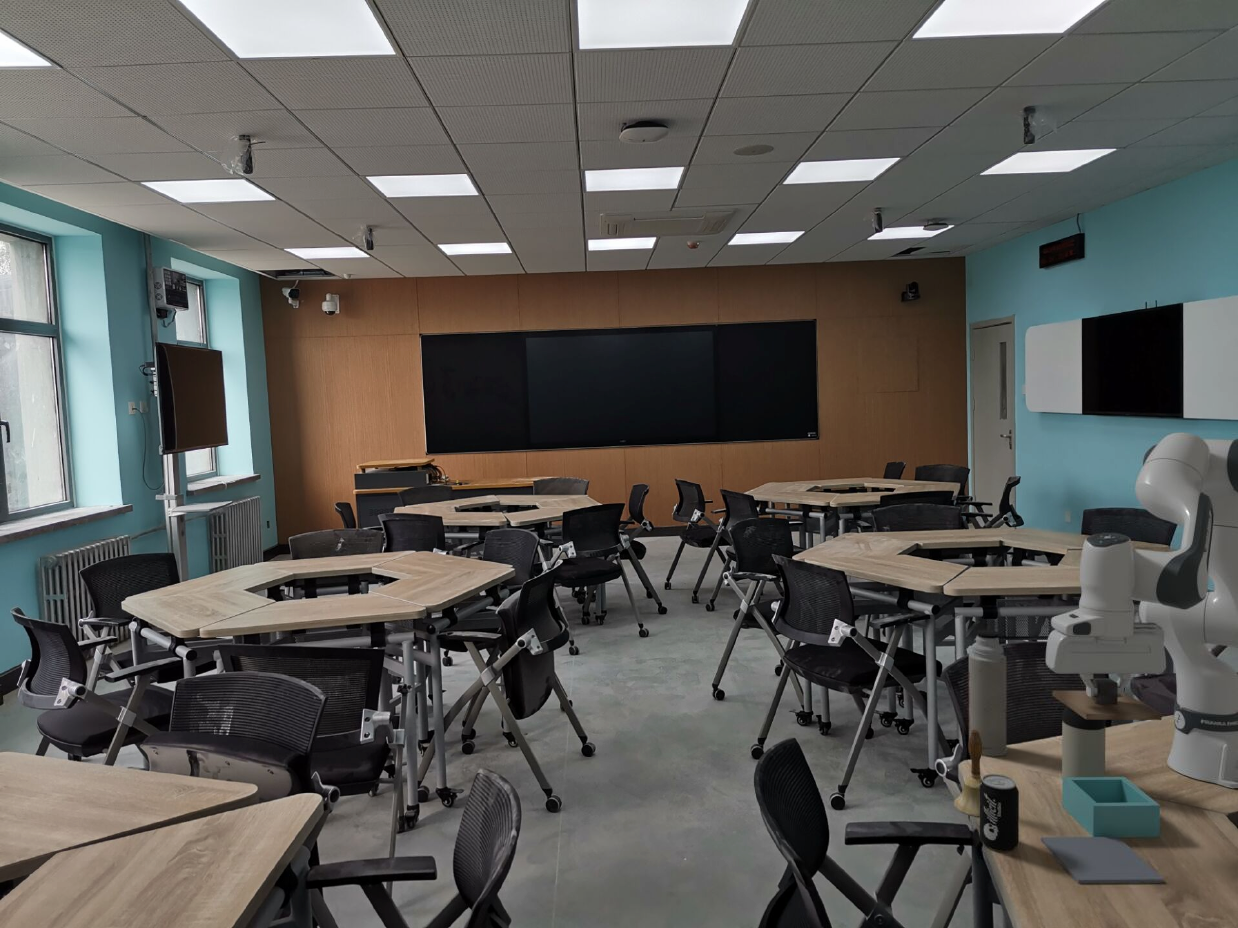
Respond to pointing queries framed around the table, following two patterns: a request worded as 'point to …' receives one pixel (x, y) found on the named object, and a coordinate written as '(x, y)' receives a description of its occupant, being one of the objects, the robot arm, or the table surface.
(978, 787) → the hand bell
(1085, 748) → the travel mug
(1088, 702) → the lid
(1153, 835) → the dish
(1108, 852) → the tray
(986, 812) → the beverage can
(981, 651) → the thermos bottle
